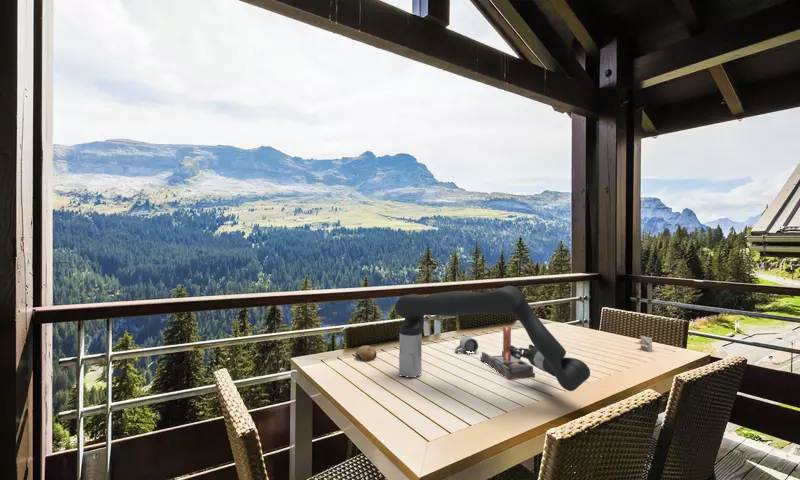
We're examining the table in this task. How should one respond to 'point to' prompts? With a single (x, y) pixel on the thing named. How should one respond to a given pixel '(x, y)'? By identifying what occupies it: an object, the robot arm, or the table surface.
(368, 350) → the bread roll
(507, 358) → the slider
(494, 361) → the press base
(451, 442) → the table surface
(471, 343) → the ceramic mug
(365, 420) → the table surface
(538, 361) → the robot arm
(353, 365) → the table surface
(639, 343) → the architectural model
